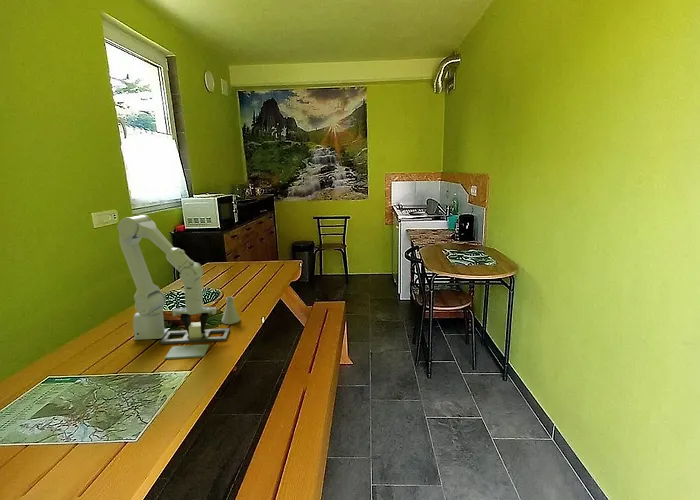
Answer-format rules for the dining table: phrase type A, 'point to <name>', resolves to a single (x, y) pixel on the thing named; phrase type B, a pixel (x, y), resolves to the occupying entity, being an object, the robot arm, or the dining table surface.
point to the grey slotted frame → (193, 340)
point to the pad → (187, 351)
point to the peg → (195, 330)
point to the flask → (230, 312)
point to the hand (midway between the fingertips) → (196, 332)
